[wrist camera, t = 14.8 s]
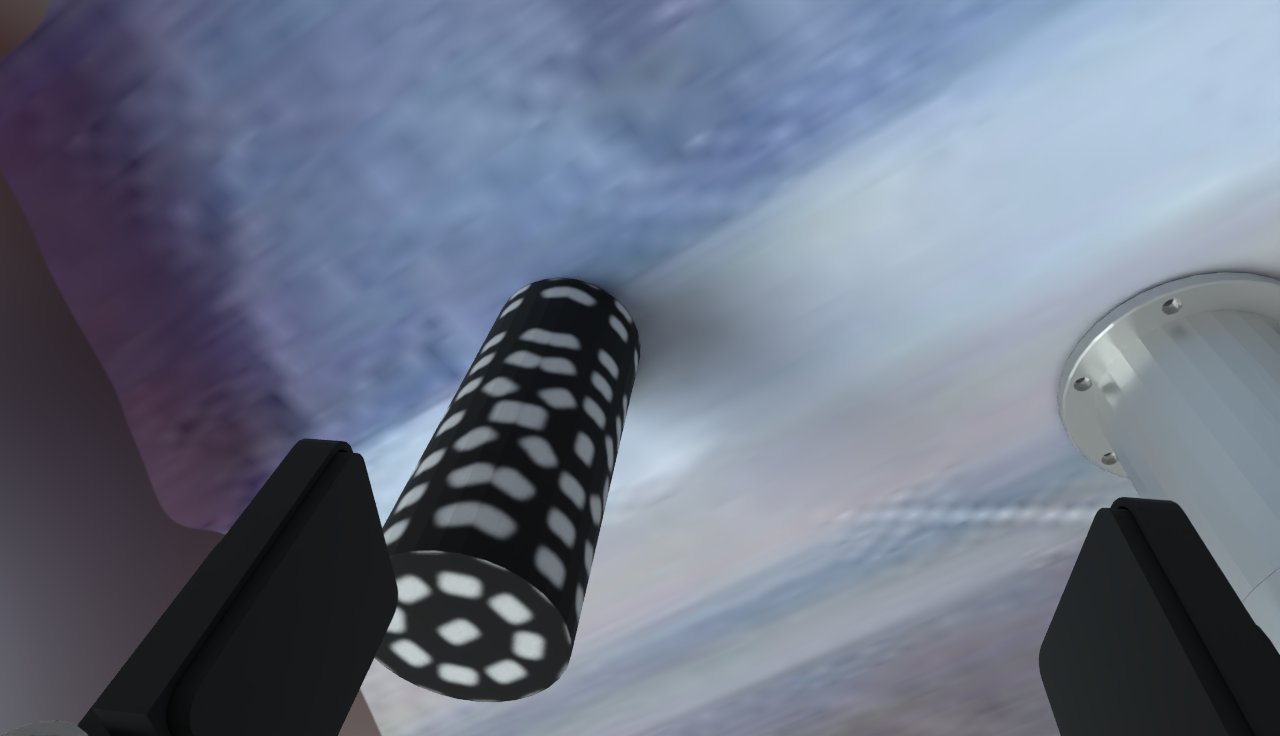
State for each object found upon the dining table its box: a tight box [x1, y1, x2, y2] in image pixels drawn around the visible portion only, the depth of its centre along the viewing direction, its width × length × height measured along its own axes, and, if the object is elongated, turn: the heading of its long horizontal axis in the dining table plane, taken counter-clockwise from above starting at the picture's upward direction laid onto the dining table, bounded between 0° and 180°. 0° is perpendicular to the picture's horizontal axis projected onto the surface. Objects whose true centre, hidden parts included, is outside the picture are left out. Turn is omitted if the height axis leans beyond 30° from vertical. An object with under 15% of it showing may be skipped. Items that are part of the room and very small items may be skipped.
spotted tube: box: [374, 278, 640, 702], centre depth 37 cm, size 8×8×20 cm
